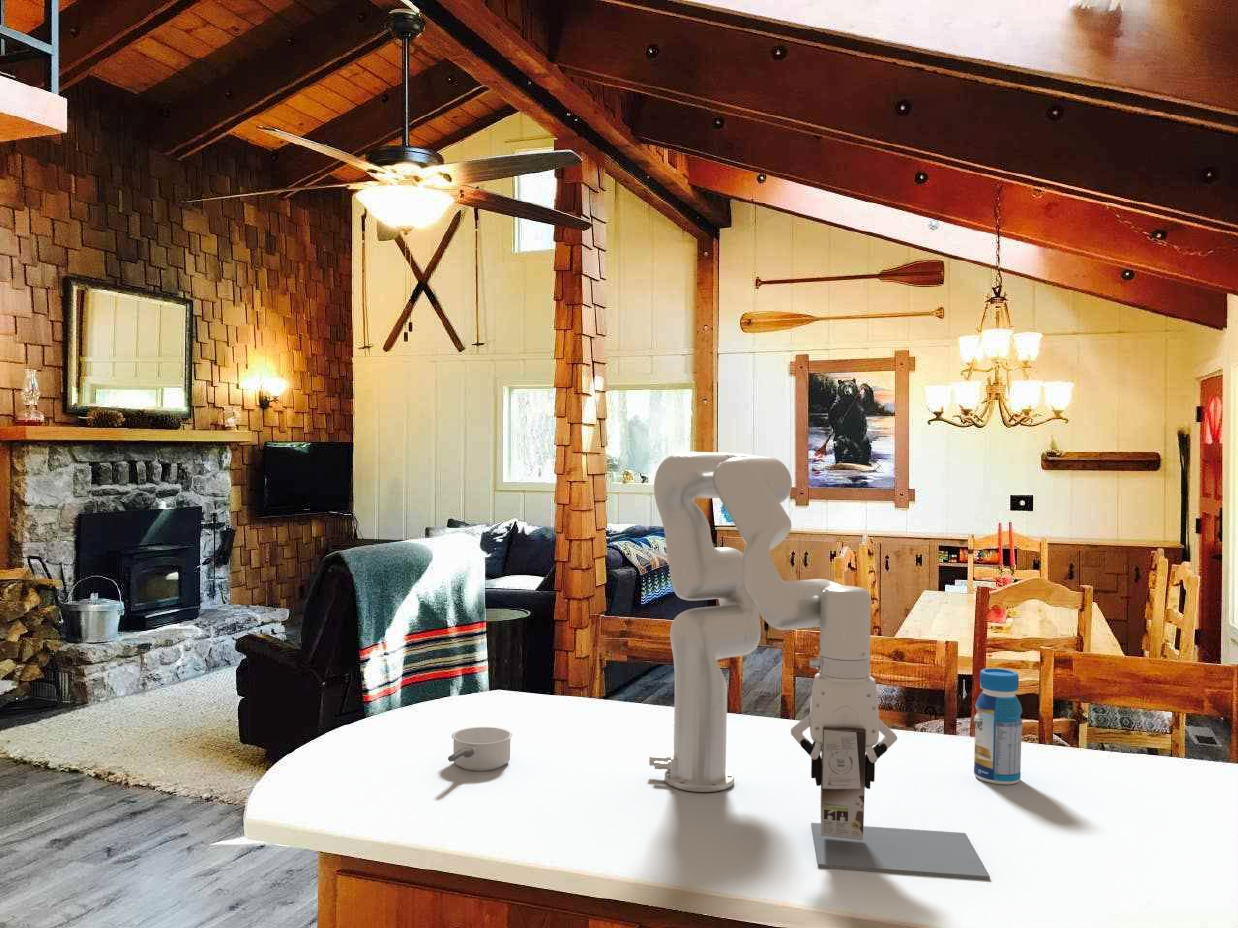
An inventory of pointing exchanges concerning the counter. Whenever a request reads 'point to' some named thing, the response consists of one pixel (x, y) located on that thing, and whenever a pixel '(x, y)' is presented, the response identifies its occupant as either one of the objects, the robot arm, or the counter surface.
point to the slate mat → (901, 852)
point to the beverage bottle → (998, 728)
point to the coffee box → (843, 782)
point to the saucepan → (481, 748)
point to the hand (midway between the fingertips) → (842, 783)
